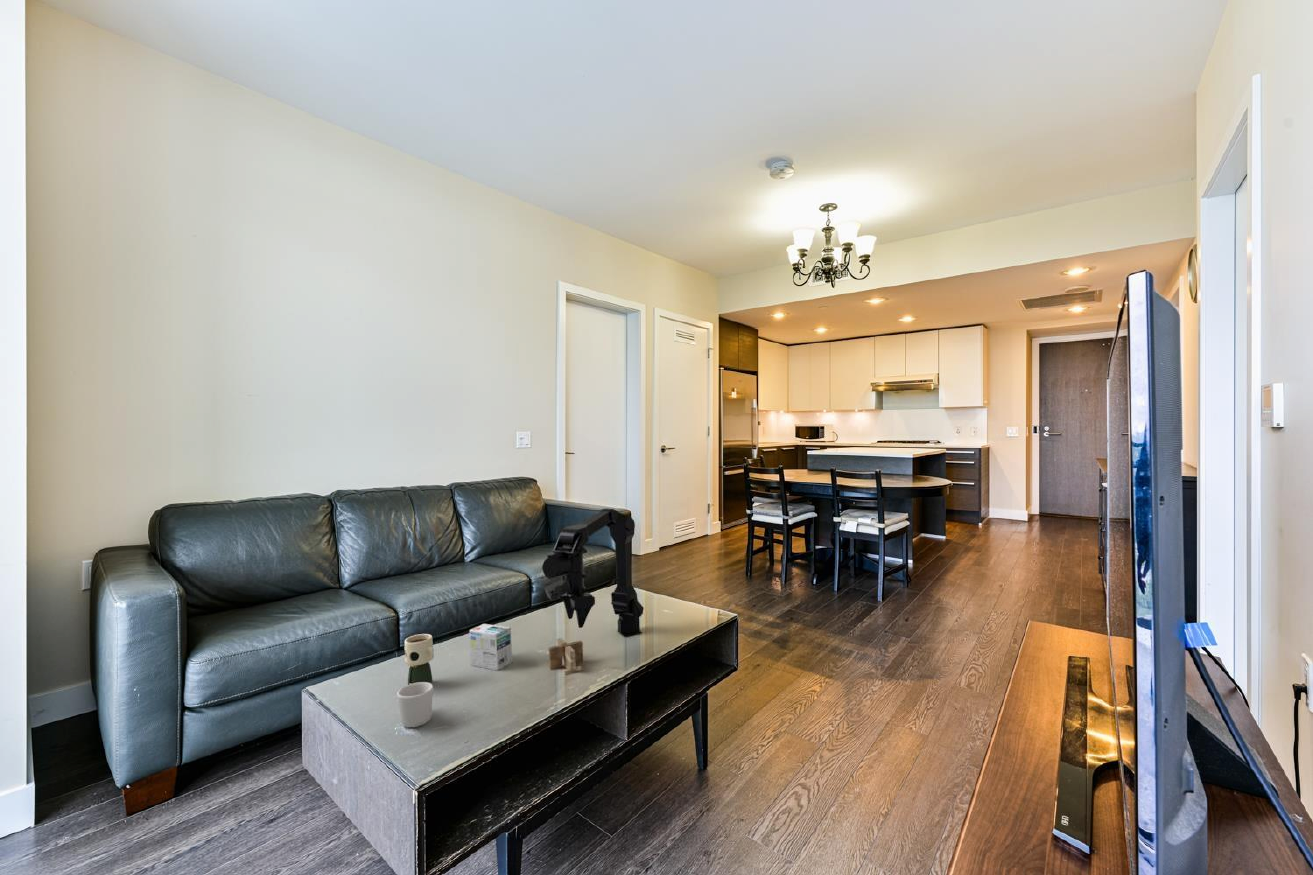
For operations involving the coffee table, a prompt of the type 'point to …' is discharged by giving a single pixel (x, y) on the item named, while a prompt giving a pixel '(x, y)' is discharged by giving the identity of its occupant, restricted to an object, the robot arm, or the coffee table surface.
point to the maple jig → (568, 658)
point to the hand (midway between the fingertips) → (575, 623)
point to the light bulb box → (490, 646)
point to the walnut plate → (559, 652)
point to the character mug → (419, 657)
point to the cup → (415, 703)
